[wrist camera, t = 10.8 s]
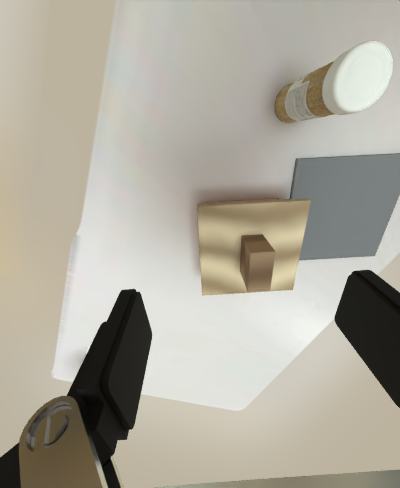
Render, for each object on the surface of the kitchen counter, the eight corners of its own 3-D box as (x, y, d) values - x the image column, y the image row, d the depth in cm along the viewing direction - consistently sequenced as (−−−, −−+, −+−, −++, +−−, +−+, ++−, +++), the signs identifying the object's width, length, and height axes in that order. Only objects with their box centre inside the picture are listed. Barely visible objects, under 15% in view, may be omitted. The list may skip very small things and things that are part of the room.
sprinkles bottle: (309, 80, 27) (404, 33, 15) (305, 120, 29) (387, 108, 17) (274, 86, 27) (340, 43, 15) (273, 126, 29) (331, 116, 17)
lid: (197, 204, 28) (198, 220, 22) (307, 198, 28) (334, 212, 22) (202, 291, 34) (203, 319, 29) (290, 285, 35) (308, 312, 29)
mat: (296, 158, 31) (298, 159, 30) (412, 152, 31) (416, 153, 31) (280, 259, 39) (281, 261, 39) (372, 254, 40) (374, 255, 39)
